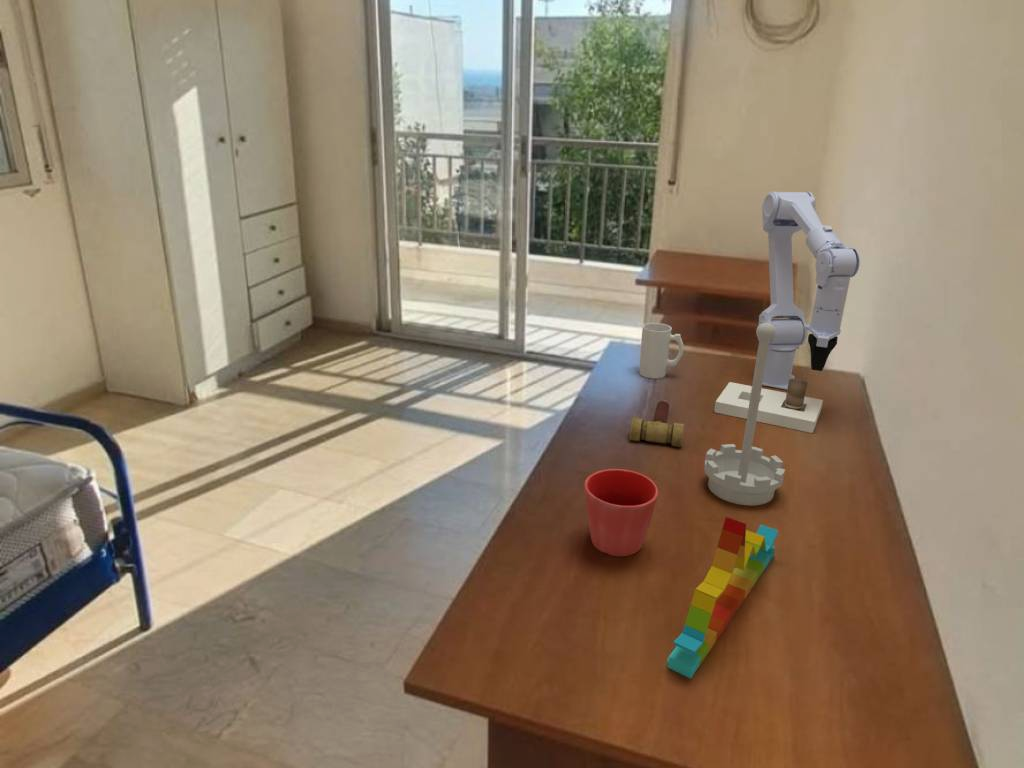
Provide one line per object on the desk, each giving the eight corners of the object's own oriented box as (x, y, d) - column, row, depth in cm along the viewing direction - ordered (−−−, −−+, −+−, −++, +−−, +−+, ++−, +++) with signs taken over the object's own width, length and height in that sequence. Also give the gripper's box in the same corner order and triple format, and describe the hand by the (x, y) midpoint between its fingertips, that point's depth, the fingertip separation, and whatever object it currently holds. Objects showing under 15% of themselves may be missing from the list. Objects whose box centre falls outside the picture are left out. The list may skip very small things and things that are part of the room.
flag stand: (785, 513, 118) (818, 339, 107) (703, 503, 121) (727, 332, 109) (774, 475, 130) (803, 314, 119) (700, 466, 132) (722, 308, 121)
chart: (752, 549, 109) (767, 461, 103) (773, 557, 107) (790, 468, 102) (665, 668, 86) (678, 564, 81) (690, 680, 85) (706, 575, 79)
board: (728, 392, 166) (729, 381, 165) (820, 410, 157) (822, 400, 156) (714, 412, 155) (715, 401, 154) (812, 433, 146) (815, 422, 145)
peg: (784, 411, 156) (790, 377, 153) (802, 415, 155) (808, 380, 152) (781, 417, 153) (787, 382, 150) (799, 421, 152) (805, 386, 149)
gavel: (642, 389, 159) (688, 394, 156) (640, 408, 160) (686, 414, 158) (631, 422, 139) (683, 429, 137) (628, 443, 141) (681, 451, 139)
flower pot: (597, 568, 104) (601, 510, 100) (571, 526, 113) (574, 472, 110) (664, 558, 106) (671, 500, 103) (633, 518, 116) (638, 464, 112)
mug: (635, 376, 173) (640, 329, 169) (641, 367, 179) (645, 321, 175) (677, 383, 170) (683, 334, 166) (682, 373, 176) (687, 326, 172)
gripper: (809, 296, 155) (799, 355, 160) (805, 313, 143) (794, 377, 148) (845, 300, 152) (833, 361, 157) (844, 318, 140) (831, 383, 145)
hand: (816, 369), depth 152 cm, fingers closed
